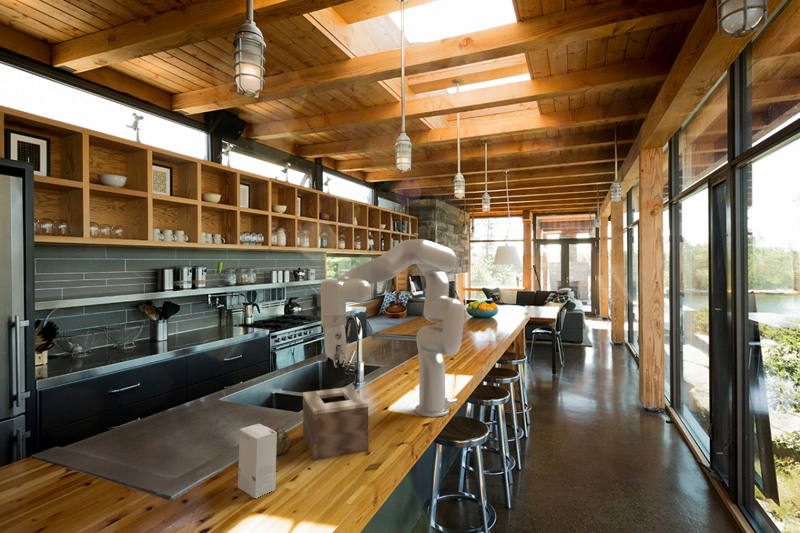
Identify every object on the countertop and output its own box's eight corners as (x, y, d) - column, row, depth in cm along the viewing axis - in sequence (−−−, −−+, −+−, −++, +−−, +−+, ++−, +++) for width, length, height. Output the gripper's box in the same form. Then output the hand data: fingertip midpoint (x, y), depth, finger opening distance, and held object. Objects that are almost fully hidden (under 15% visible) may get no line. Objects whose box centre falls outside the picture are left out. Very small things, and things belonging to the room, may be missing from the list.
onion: (296, 448, 131) (296, 422, 130) (280, 460, 123) (280, 432, 123) (274, 445, 133) (274, 419, 133) (258, 456, 125) (257, 429, 125)
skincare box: (237, 488, 108) (236, 428, 108) (259, 479, 113) (258, 421, 112) (256, 500, 103) (255, 437, 102) (278, 490, 107) (277, 430, 107)
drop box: (351, 428, 146) (351, 386, 146) (368, 450, 129) (368, 403, 129) (303, 436, 140) (302, 392, 139) (314, 460, 123) (313, 410, 123)
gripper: (353, 323, 127) (354, 381, 128) (338, 316, 143) (339, 367, 144) (328, 325, 124) (329, 385, 125) (315, 317, 140) (317, 370, 141)
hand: (335, 375), depth 134 cm, fingers open, 9 cm apart
